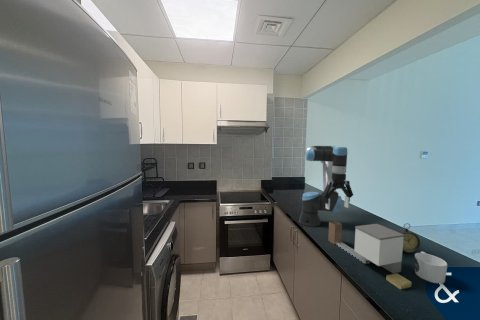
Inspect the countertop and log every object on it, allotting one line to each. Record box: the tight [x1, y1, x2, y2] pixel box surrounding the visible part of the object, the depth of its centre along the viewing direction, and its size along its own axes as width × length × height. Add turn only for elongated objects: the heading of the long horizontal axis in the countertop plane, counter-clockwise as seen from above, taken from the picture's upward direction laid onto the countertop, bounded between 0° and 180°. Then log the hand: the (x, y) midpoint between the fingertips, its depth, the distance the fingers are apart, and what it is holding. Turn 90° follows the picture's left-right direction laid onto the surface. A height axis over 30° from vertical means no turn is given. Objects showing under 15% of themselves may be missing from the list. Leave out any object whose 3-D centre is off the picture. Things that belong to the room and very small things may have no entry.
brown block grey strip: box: [327, 220, 371, 265], centre depth 110 cm, size 25×5×12 cm, turn 16°
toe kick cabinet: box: [353, 223, 404, 274], centre depth 96 cm, size 13×14×18 cm
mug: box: [414, 251, 448, 284], centre depth 90 cm, size 13×10×8 cm
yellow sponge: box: [385, 272, 413, 290], centre depth 84 cm, size 6×6×2 cm
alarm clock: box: [398, 222, 421, 254], centre depth 109 cm, size 11×5×16 cm, turn 83°
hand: (337, 208), depth 119 cm, fingers open, 13 cm apart
